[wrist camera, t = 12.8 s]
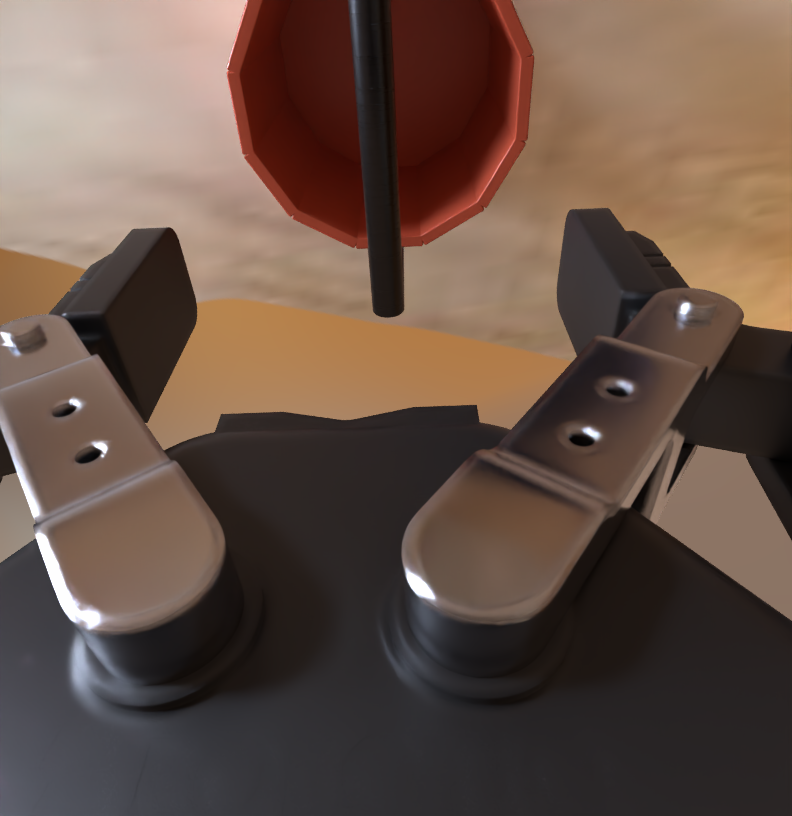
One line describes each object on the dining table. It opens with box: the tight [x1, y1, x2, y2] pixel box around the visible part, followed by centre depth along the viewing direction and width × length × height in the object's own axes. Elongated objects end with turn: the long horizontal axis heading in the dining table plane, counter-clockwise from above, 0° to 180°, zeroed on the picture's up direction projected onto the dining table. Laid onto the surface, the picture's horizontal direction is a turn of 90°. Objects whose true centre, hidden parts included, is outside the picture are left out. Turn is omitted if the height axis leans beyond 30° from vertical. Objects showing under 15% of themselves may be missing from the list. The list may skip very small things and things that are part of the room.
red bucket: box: [227, 0, 534, 317], centre depth 25 cm, size 11×12×15 cm
